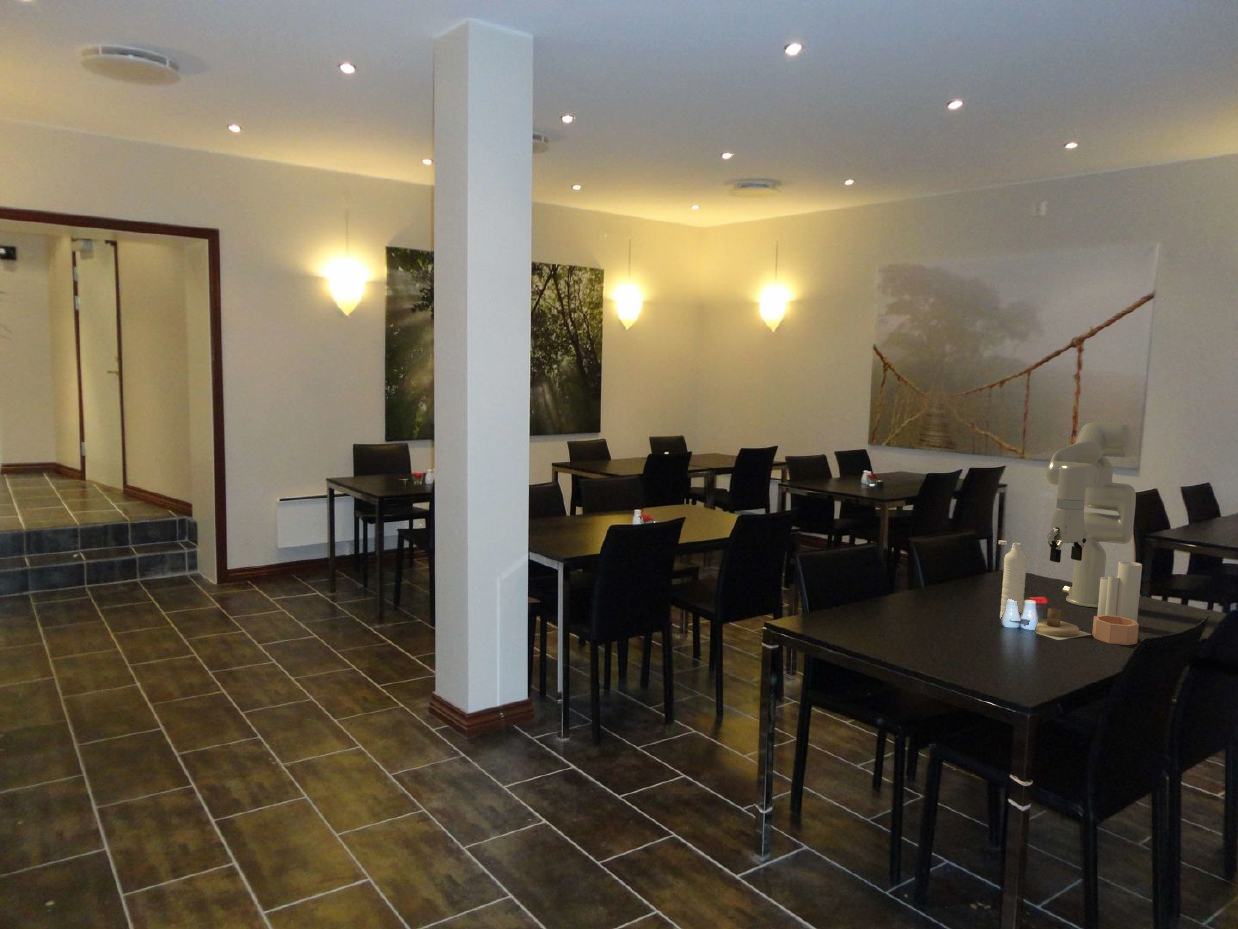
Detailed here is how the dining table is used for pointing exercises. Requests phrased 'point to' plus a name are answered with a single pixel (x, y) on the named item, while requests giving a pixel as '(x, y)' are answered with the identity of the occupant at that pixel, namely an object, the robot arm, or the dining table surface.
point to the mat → (1067, 637)
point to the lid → (1056, 625)
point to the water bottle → (1013, 576)
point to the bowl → (1115, 629)
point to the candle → (1121, 591)
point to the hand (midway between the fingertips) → (1065, 560)
